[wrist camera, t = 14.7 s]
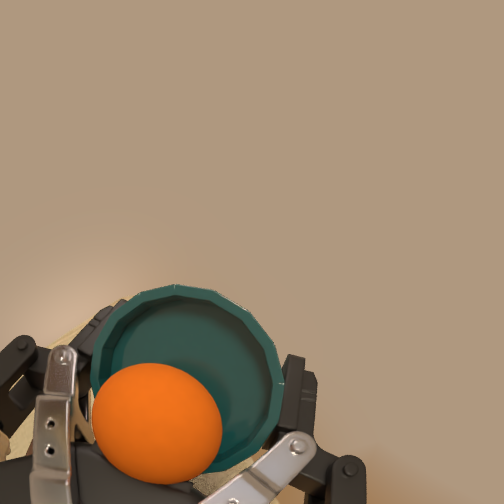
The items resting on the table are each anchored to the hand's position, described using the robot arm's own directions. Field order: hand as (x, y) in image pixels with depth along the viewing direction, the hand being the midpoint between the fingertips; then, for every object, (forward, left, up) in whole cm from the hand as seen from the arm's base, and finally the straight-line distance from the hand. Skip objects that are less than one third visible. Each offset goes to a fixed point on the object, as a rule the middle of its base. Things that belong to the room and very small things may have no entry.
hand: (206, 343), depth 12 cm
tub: (0, -2, -5) cm, 5 cm away
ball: (0, +5, +2) cm, 5 cm away
